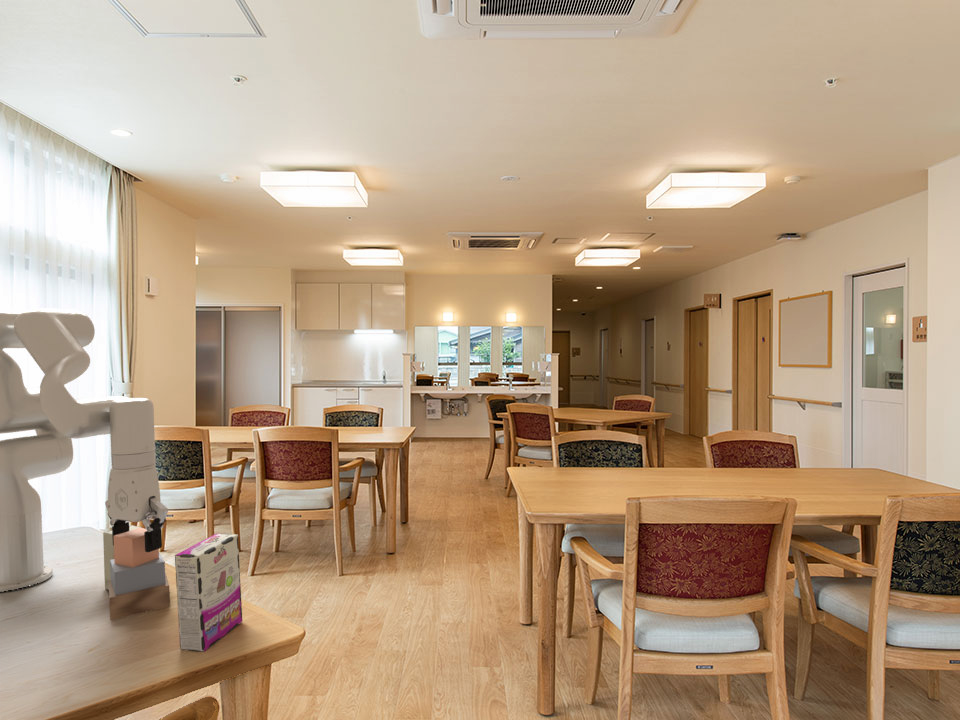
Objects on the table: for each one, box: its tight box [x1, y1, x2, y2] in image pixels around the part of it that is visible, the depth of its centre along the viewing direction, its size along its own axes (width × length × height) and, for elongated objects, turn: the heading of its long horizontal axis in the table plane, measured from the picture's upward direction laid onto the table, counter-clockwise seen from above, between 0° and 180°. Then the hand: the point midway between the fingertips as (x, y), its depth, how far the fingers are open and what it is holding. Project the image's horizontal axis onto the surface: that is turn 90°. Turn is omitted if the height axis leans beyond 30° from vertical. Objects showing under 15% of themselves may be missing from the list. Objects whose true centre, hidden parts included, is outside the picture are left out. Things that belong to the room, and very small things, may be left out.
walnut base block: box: [108, 572, 171, 621], centre depth 119 cm, size 10×10×4 cm
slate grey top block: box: [110, 552, 166, 596], centre depth 119 cm, size 8×8×4 cm
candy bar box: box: [174, 533, 243, 653], centre depth 104 cm, size 11×5×16 cm, turn 168°
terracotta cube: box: [114, 527, 160, 567], centre depth 118 cm, size 6×6×6 cm
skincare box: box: [102, 524, 142, 591], centre depth 128 cm, size 6×4×12 cm
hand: (137, 546), depth 118 cm, fingers open, 9 cm apart
